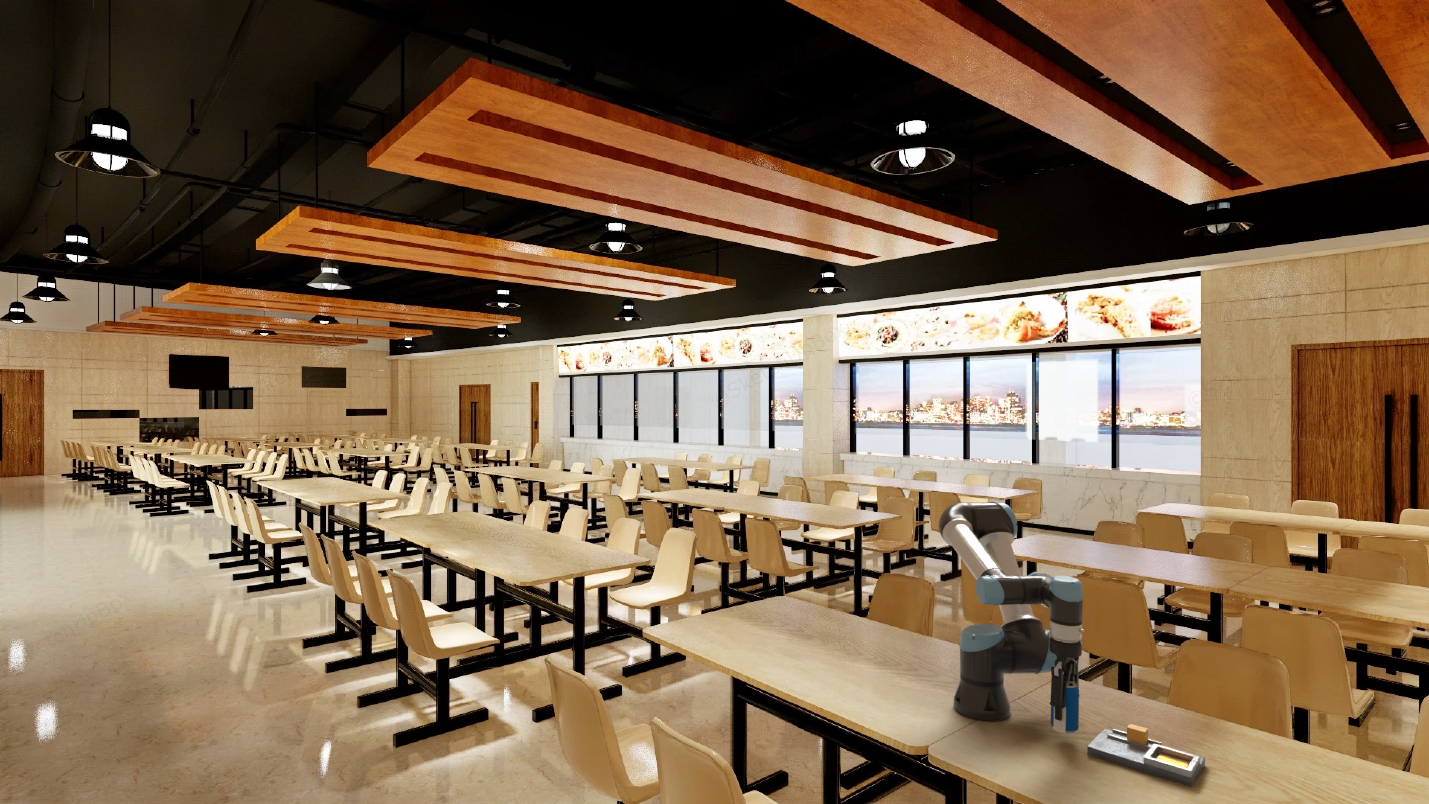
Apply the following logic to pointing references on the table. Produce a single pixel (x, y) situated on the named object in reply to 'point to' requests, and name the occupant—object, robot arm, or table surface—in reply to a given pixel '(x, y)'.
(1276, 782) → the table surface
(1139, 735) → the block
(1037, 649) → the robot arm
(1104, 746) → the panel
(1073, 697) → the beverage can
